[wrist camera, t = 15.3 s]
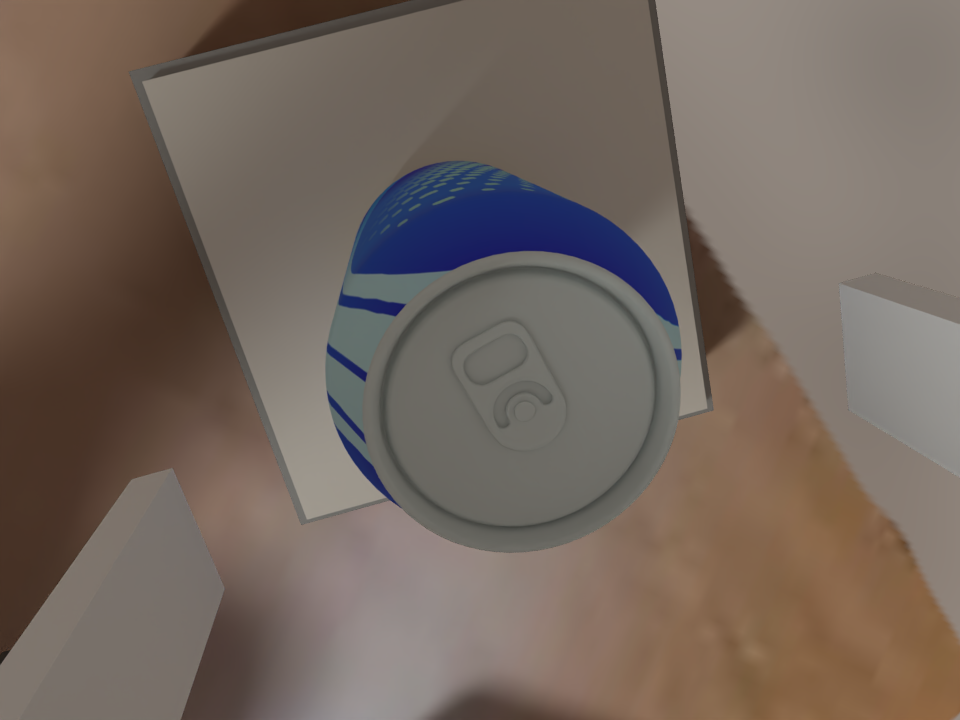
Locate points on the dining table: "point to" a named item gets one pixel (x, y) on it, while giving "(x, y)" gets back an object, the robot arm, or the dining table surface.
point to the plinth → (404, 172)
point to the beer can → (501, 359)
